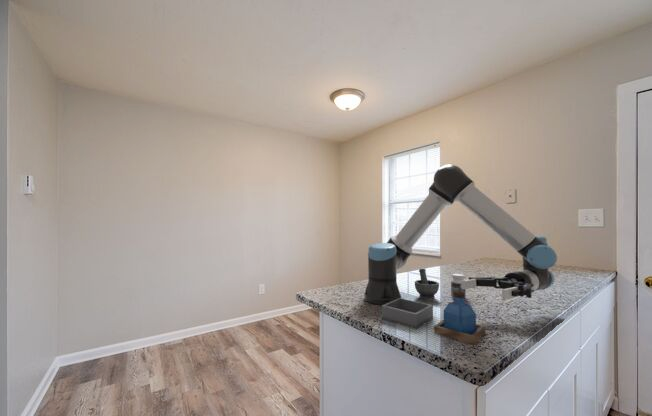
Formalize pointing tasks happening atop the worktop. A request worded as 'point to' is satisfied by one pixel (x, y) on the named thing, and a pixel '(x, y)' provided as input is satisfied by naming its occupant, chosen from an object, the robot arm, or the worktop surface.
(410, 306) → the bin
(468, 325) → the perfume bottle
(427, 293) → the mortar and pestle
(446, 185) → the robot arm
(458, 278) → the pill bottle
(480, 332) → the holder
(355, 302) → the worktop surface
